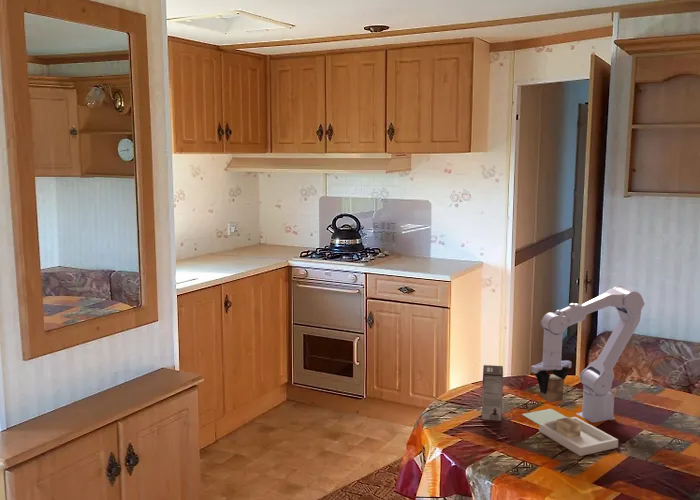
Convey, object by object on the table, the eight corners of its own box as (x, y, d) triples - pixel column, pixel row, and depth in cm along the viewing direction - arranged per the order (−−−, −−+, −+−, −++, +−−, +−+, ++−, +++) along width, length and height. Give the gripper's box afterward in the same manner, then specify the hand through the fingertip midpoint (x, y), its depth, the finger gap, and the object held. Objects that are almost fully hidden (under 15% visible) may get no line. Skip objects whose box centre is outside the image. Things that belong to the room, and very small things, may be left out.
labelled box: (552, 394, 214) (553, 373, 213) (562, 400, 210) (564, 378, 208) (539, 396, 212) (541, 375, 211) (550, 402, 208) (551, 381, 206)
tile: (550, 410, 221) (551, 408, 220) (576, 424, 210) (576, 422, 209) (521, 416, 216) (521, 414, 216) (545, 430, 205) (545, 428, 205)
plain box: (569, 429, 205) (569, 417, 204) (580, 435, 200) (581, 423, 199) (556, 431, 203) (556, 419, 202) (567, 438, 198) (568, 425, 198)
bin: (574, 425, 209) (575, 416, 208) (617, 449, 192) (618, 439, 192) (538, 432, 203) (539, 423, 203) (580, 457, 187) (580, 448, 187)
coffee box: (481, 410, 221) (483, 364, 219) (501, 411, 220) (502, 365, 217) (481, 421, 212) (483, 373, 210) (501, 422, 211) (503, 374, 209)
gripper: (542, 357, 202) (540, 399, 205) (579, 351, 208) (576, 392, 210) (527, 350, 209) (525, 391, 211) (563, 345, 215) (561, 385, 217)
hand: (550, 391), depth 211 cm, fingers closed on labelled box, 5 cm apart
